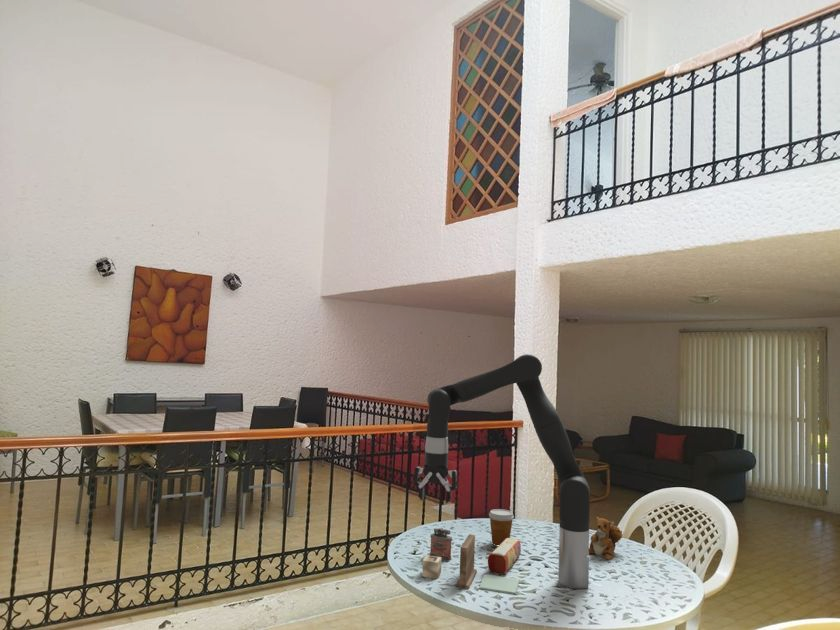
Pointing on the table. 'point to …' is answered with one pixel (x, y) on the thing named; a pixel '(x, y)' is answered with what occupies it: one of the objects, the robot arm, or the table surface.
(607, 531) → the stuffed squirrel
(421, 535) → the table surface
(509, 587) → the sage pad
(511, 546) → the snack package
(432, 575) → the letter cube
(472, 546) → the walnut screen
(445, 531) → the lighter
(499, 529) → the disposable coffee cup
